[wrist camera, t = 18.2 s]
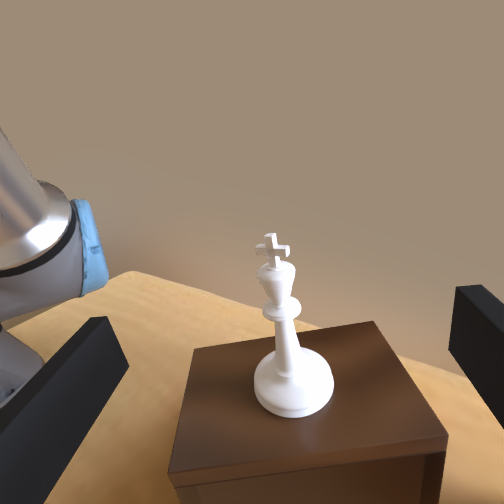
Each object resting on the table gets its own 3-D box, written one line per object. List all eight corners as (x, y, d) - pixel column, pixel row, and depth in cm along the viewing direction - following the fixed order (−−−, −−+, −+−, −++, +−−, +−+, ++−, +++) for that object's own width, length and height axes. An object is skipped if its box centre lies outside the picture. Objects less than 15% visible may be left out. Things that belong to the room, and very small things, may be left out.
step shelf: (227, 400, 32) (201, 311, 28) (355, 381, 32) (351, 286, 27) (218, 582, 20) (166, 474, 15) (431, 556, 19) (449, 434, 14)
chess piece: (274, 347, 22) (250, 217, 18) (342, 363, 19) (333, 218, 15) (240, 402, 18) (200, 253, 14) (319, 431, 15) (299, 261, 11)
